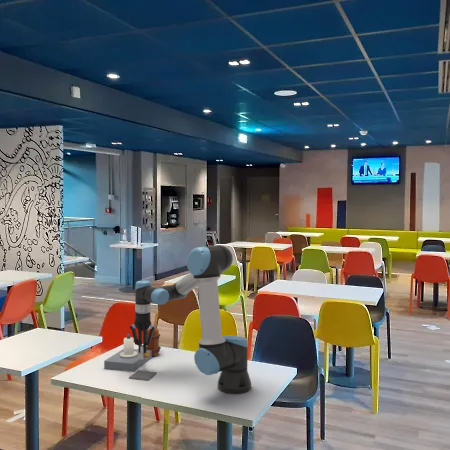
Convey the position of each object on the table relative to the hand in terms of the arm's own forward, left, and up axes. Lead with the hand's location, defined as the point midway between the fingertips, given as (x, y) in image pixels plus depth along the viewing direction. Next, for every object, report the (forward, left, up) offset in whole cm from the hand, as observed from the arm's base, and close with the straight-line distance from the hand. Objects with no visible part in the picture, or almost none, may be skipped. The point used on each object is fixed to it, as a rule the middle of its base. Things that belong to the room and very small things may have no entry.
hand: (142, 358), depth 237 cm
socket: (+7, +11, -6) cm, 14 cm away
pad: (-8, -4, -6) cm, 10 cm away
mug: (+25, +5, -6) cm, 26 cm away
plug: (+7, +11, -6) cm, 14 cm away
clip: (+7, +3, 0) cm, 7 cm away
